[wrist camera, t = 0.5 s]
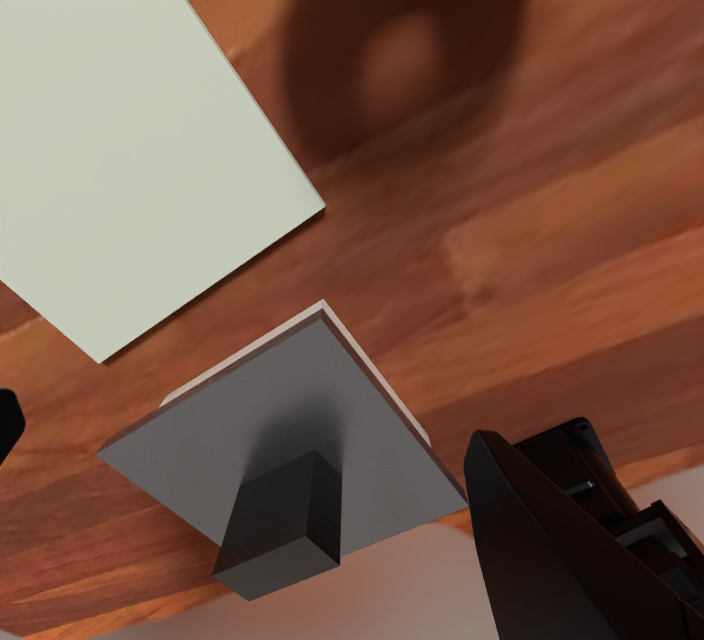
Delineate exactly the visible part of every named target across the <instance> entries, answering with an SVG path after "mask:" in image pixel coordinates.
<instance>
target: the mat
mask: <svg viewBox="0 0 704 640" xmlns="http://www.w3.org/2000/svg"><path fill="white" fill-rule="evenodd" d="M325 205H326V204H325V203H324V201H323V200H322V198H321V197H320V195H319V194H318V192H317V191H316V189H315V188H314V186H313V185H312V183H311V182H310V180H309V179H308V177H307V176H306V175H305V173H304V172H303V170H302V169H301V167H300V166H299V164H298V163H297V161H296V160H295V158H294V157H293V155H292V154H291V152H290V151H289V149H288V148H287V146H286V145H285V143H284V142H283V141H282V139H281V138H280V136H279V135H278V133H277V132H276V130H275V129H274V127H273V126H272V124H271V123H270V121H269V120H268V118H267V117H266V115H265V114H264V112H263V111H262V110H261V108H260V107H259V105H258V104H257V102H256V101H255V99H254V98H253V96H252V95H251V93H250V92H249V90H248V89H247V87H246V86H245V84H244V83H243V81H242V80H241V78H240V77H239V76H238V74H237V73H236V71H235V70H234V68H233V67H232V65H231V64H230V62H229V61H228V59H227V58H226V56H225V55H224V53H223V52H222V50H221V49H220V47H219V46H218V44H217V43H216V42H215V40H214V39H213V37H212V36H211V34H210V33H209V31H208V30H207V28H206V27H205V25H204V24H203V22H202V21H201V19H200V18H199V16H198V15H197V13H196V12H195V11H194V9H193V8H192V6H191V5H190V3H189V2H188V0H0V280H1V281H2V282H4V283H5V284H6V285H7V286H8V287H9V288H11V289H12V290H13V291H14V292H15V293H17V294H18V295H19V296H20V297H21V298H22V299H24V300H25V301H26V302H27V303H28V304H29V305H31V306H32V307H33V308H34V309H35V310H36V311H38V312H39V313H40V314H41V315H42V316H43V317H45V318H46V319H47V320H48V321H49V322H50V323H52V324H53V325H54V326H55V327H56V328H57V329H59V330H60V331H61V332H62V333H63V334H65V335H66V336H67V337H68V338H69V339H70V340H72V341H73V342H74V343H75V344H76V345H77V346H79V347H80V348H81V349H82V350H83V351H84V352H86V353H87V354H88V355H89V356H90V357H91V358H93V359H94V360H95V361H96V362H97V363H98V364H99V363H101V362H102V361H104V360H105V359H107V358H108V357H109V356H111V355H112V354H114V353H115V352H117V351H118V350H119V349H121V348H122V347H124V346H125V345H127V344H128V343H130V342H131V341H132V340H134V339H135V338H137V337H138V336H140V335H141V334H143V333H144V332H145V331H147V330H148V329H150V328H151V327H153V326H154V325H155V324H157V323H158V322H160V321H161V320H163V319H164V318H166V317H167V316H168V315H170V314H171V313H173V312H174V311H176V310H177V309H179V308H180V307H181V306H183V305H184V304H186V303H187V302H189V301H190V300H191V299H193V298H194V297H196V296H197V295H199V294H200V293H202V292H203V291H204V290H206V289H207V288H209V287H210V286H212V285H213V284H215V283H216V282H217V281H219V280H220V279H222V278H223V277H225V276H226V275H227V274H229V273H230V272H232V271H233V270H235V269H236V268H238V267H239V266H240V265H242V264H243V263H245V262H246V261H248V260H249V259H251V258H252V257H253V256H255V255H256V254H258V253H259V252H261V251H262V250H263V249H265V248H266V247H268V246H269V245H271V244H272V243H274V242H275V241H276V240H278V239H279V238H281V237H282V236H284V235H285V234H287V233H288V232H289V231H291V230H292V229H294V228H295V227H297V226H298V225H299V224H301V223H302V222H304V221H305V220H307V219H308V218H310V217H311V216H312V215H314V214H315V213H317V212H318V211H320V210H321V209H322V208H324V207H325Z"/></svg>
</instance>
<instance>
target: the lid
mask: <svg viewBox="0 0 704 640" xmlns="http://www.w3.org/2000/svg"><path fill="white" fill-rule="evenodd" d="M95 455H97V456H98V457H99V458H101V459H102V460H103V461H105V462H106V463H108V464H109V465H110V466H112V467H113V468H114V469H116V470H117V471H118V472H120V473H121V474H122V475H124V476H125V477H127V478H128V479H129V480H131V481H132V482H133V483H135V484H136V485H137V486H139V487H140V488H141V489H143V490H144V491H146V492H147V493H148V494H150V495H151V496H152V497H154V498H155V499H156V500H158V501H159V502H161V503H162V504H163V505H165V506H166V507H167V508H169V509H170V510H171V511H173V512H174V513H175V514H177V515H178V516H180V517H181V518H182V519H184V520H185V521H186V522H188V523H189V524H190V525H192V526H193V527H194V528H196V529H197V530H199V531H200V532H201V533H203V534H204V535H205V536H207V537H208V538H209V539H211V540H212V541H213V542H215V543H216V544H218V545H219V546H220V547H221V548H220V551H219V555H218V558H217V561H216V564H215V568H214V571H213V574H212V577H214V578H215V579H217V580H218V581H220V582H221V583H223V584H224V585H225V586H227V587H228V588H230V589H231V590H233V591H234V592H236V593H237V594H239V595H240V596H242V597H243V598H245V599H246V600H248V601H251V600H253V599H256V598H259V597H261V596H264V595H266V594H269V593H272V592H274V591H277V590H279V589H282V588H284V587H287V586H290V585H292V584H295V583H297V582H300V581H302V580H305V579H308V578H310V577H313V576H315V575H318V574H320V573H323V572H326V571H328V570H331V569H333V568H336V567H338V566H340V557H341V556H344V555H346V554H349V553H351V552H354V551H357V550H359V549H362V548H364V547H367V546H369V545H372V544H374V543H377V542H379V541H382V540H384V539H387V538H389V537H392V536H394V535H397V534H400V533H402V532H405V531H407V530H410V529H412V528H415V527H417V526H420V525H422V524H425V523H427V522H430V521H432V520H435V519H437V518H440V517H442V516H445V515H447V514H450V513H452V512H455V511H458V510H460V509H463V508H465V507H468V506H469V505H468V502H467V498H466V495H465V492H464V490H463V488H462V487H461V486H460V484H459V483H458V482H457V481H456V479H455V478H454V477H453V475H452V474H451V473H450V472H449V470H448V469H447V468H446V466H445V465H444V464H443V463H442V461H441V460H440V459H439V457H438V456H437V455H436V454H435V452H434V451H433V450H432V448H431V447H430V446H429V445H428V443H427V442H426V441H425V439H424V438H423V437H422V436H421V434H420V433H419V432H418V430H417V429H416V428H415V427H414V425H413V424H412V423H411V421H410V420H409V419H408V418H407V416H406V415H405V414H404V412H403V411H402V410H401V409H400V407H399V406H398V405H397V403H396V402H395V401H394V399H393V398H392V397H391V396H390V394H389V393H388V392H387V390H386V389H385V388H384V387H383V385H382V384H381V383H380V381H379V380H378V379H377V378H376V376H375V375H374V374H373V372H372V371H371V370H370V369H369V367H368V366H367V365H366V363H365V362H364V361H363V360H362V358H361V357H360V356H359V354H358V353H357V352H356V351H355V349H354V348H353V347H352V345H351V344H350V343H349V342H348V340H347V339H346V338H345V336H344V335H343V334H342V333H341V331H340V330H339V329H338V327H337V326H336V325H335V324H334V322H333V321H332V320H331V318H330V317H329V316H328V315H327V313H326V312H325V311H324V309H323V308H322V309H320V310H318V311H317V312H315V313H313V314H312V315H310V316H308V317H307V318H305V319H304V320H302V321H300V322H299V323H297V324H295V325H294V326H292V327H290V328H289V329H287V330H286V331H284V332H282V333H281V334H279V335H277V336H276V337H274V338H272V339H271V340H269V341H268V342H266V343H264V344H263V345H261V346H259V347H258V348H256V349H254V350H253V351H251V352H250V353H248V354H246V355H245V356H243V357H241V358H240V359H238V360H236V361H235V362H233V363H232V364H230V365H228V366H227V367H225V368H223V369H222V370H220V371H218V372H217V373H215V374H214V375H212V376H210V377H209V378H207V379H205V380H204V381H202V382H200V383H199V384H197V385H196V386H194V387H192V388H191V389H189V390H187V391H186V392H184V393H182V394H181V395H179V396H178V397H176V398H174V399H173V400H171V401H169V402H168V403H166V404H164V405H163V406H161V407H160V408H158V409H156V410H155V411H153V412H151V413H150V414H148V415H146V416H145V417H143V418H142V419H140V420H138V421H137V422H135V423H133V424H132V425H130V426H128V427H127V428H125V429H124V430H122V431H120V432H119V433H117V434H115V435H114V436H112V437H110V438H109V439H107V440H106V441H105V443H104V444H103V445H102V447H101V448H100V449H99V450H98V452H97V453H96V454H95Z"/></svg>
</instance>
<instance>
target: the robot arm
mask: <svg viewBox="0 0 704 640" xmlns="http://www.w3.org/2000/svg"><path fill="white" fill-rule="evenodd" d="M25 425H26V421H25V417H24V415H23V412H22V409H21V407H20V404H19V402H18V399H17V396H16V394H15V392H14V391H13V390H11V389H9V388H5V387H0V465H1V464H2V462H3V461H4V460H5V458H6V457H7V455H8V454H9V452H10V451H11V449H12V448H13V447H14V445H15V444H16V442H17V441H18V439H19V438H20V437H21V435H22V433H23V432H24V429H25ZM581 425H582V426H581ZM464 475H465V481H466V488H467V494H468V501H469V507H470V514H471V520H472V527H473V533H474V539H475V545H476V550H477V554H478V558H479V563H480V567H481V570H482V574H483V578H484V582H485V586H486V590H487V593H488V597H489V601H490V605H491V609H492V612H493V616H494V620H495V624H496V628H497V632H498V635H499V639H500V640H704V545H703V544H702V543H701V541H700V540H699V539H698V538H697V537H696V536H695V535H694V534H693V533H692V532H691V531H690V530H689V528H688V527H687V526H686V525H685V524H683V522H682V521H681V520H680V519H679V518H678V517H677V516H676V515H675V514H674V513H673V512H672V511H671V510H670V509H669V508H668V507H667V506H666V505H665V504H664V502H663V501H662V500H657V501H655V502H653V503H651V506H650V507H648V508H646V509H644V510H642V511H641V510H640V509H639V507H638V506H637V505H636V503H635V502H634V501H633V499H632V498H631V497H630V495H629V494H628V493H627V491H626V490H625V488H624V487H623V486H622V484H621V483H620V482H619V480H618V479H617V478H616V474H615V472H614V470H613V468H612V466H611V464H610V462H609V460H608V458H607V456H606V454H605V452H604V450H603V447H602V445H601V443H600V441H599V439H598V437H597V435H596V433H595V431H594V429H593V427H592V425H591V423H590V422H589V421H588V420H587V419H586V418H584V417H580V418H577V419H574V420H572V421H570V422H567V423H565V424H563V425H560V426H558V427H556V428H553V429H551V430H549V431H546V432H544V433H542V434H539V435H537V436H535V437H532V438H530V439H528V440H525V441H523V442H521V443H518V444H516V445H514V446H512V445H511V444H510V443H509V442H508V441H507V440H506V439H504V438H503V437H502V436H501V435H500V434H499V433H497V432H496V431H492V430H480V429H477V430H475V431H474V432H473V434H472V436H471V440H470V443H469V446H468V449H467V452H466V455H465V459H464Z"/></svg>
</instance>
